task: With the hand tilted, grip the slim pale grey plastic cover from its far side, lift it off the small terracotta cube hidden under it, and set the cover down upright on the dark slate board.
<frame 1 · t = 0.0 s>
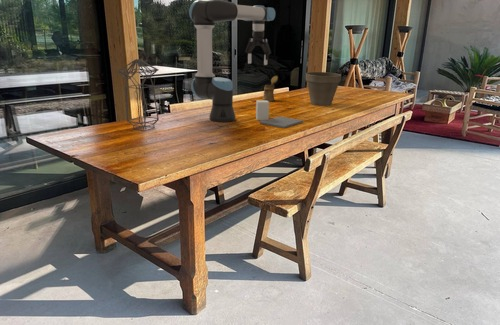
hand: (257, 64, 263), 28 cm above the table, tool pointing down, fingers open, 13 cm apart
plant pot: (321, 104, 283), on the table
terracotta cube: (262, 116, 230), in the grey cover
grey cover: (262, 119, 230), on the table
slate board: (281, 122, 222), on the table
geometric lantern: (142, 128, 203), on the table
utensil holder: (270, 100, 295), on the table
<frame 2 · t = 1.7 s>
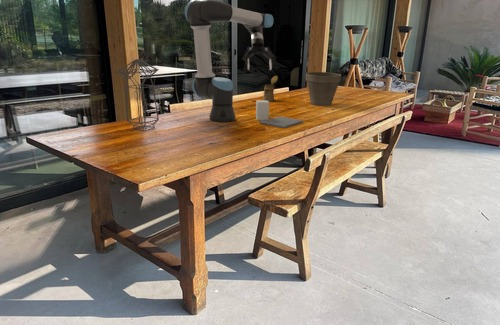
hand: (259, 68, 237), 28 cm above the table, tool tilted 45°, fingers open, 13 cm apart
nothing on the table moved.
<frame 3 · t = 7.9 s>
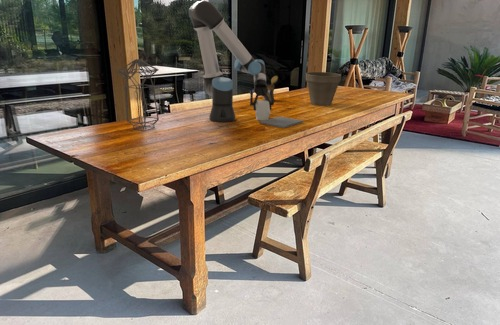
hand: (263, 114, 226), 3 cm above the table, tool tilted 45°, fingers closed on grey cover, 7 cm apart
grey cover: (262, 119, 230), on the table, touching gripper
everything else where it was.
when the fingers open (5 cm above the table, at t = 14.4 s): grey cover stays where it is, resting on slate board.
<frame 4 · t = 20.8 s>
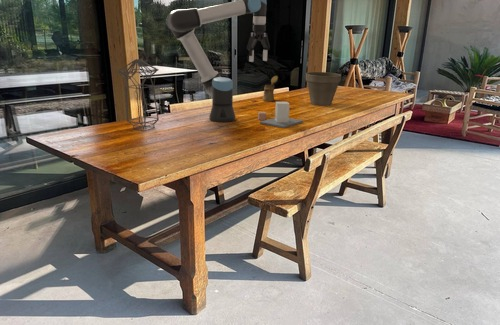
hand: (258, 61, 238), 32 cm above the table, tool pointing down, fingers open, 13 cm apart
grey cover: (281, 121, 222), point 1 cm above the table, touching slate board
everything else where it was.
at the end: grey cover inside the target area on the slate board (0.1 cm from its centre), point 1.0 cm above the slate board's base; grey cover tilted 0°; the gripper is holding nothing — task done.
